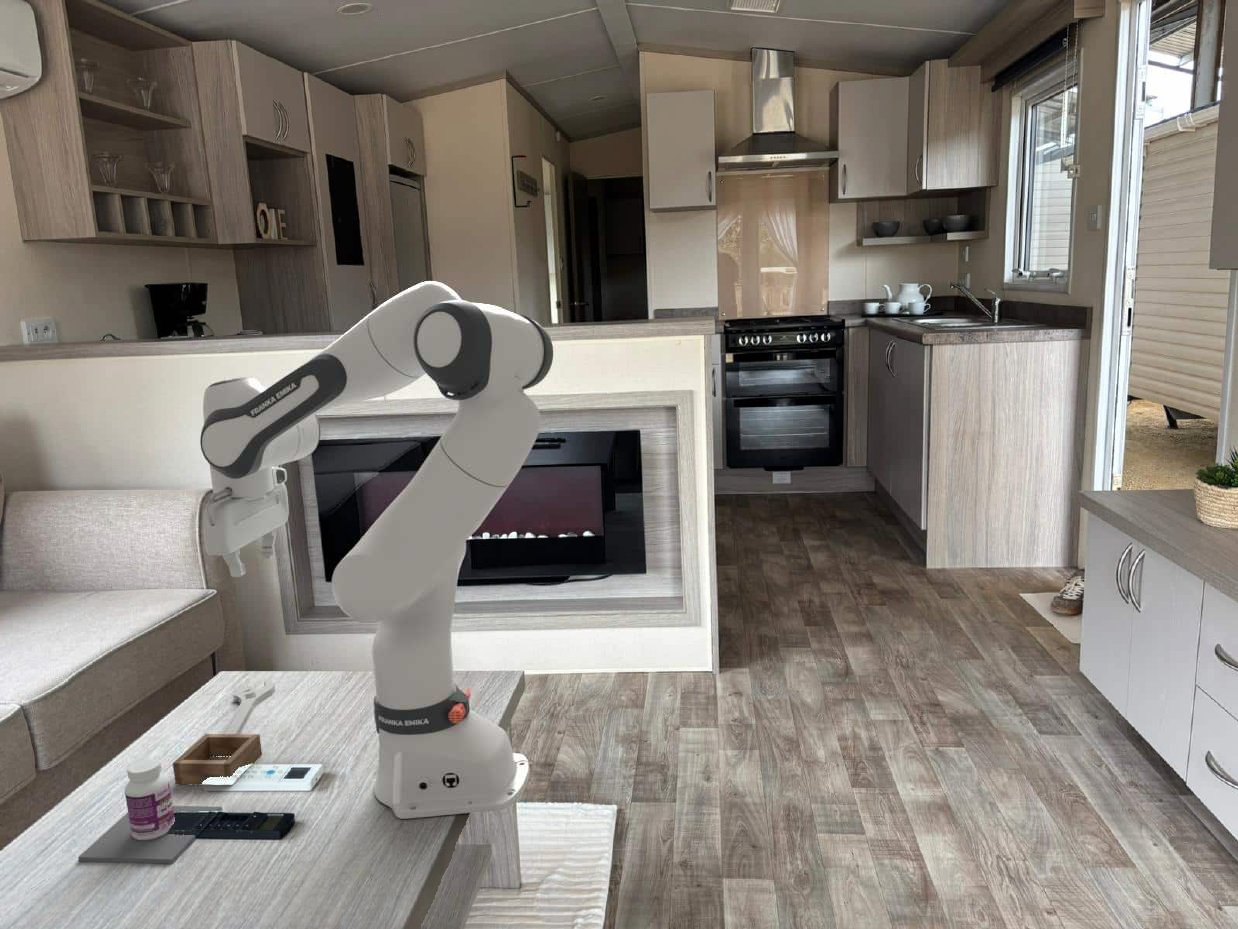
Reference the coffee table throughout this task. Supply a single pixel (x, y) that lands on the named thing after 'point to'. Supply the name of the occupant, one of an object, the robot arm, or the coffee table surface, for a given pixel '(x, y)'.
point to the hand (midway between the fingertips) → (253, 566)
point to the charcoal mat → (140, 843)
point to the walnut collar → (199, 767)
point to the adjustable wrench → (247, 705)
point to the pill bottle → (149, 800)
